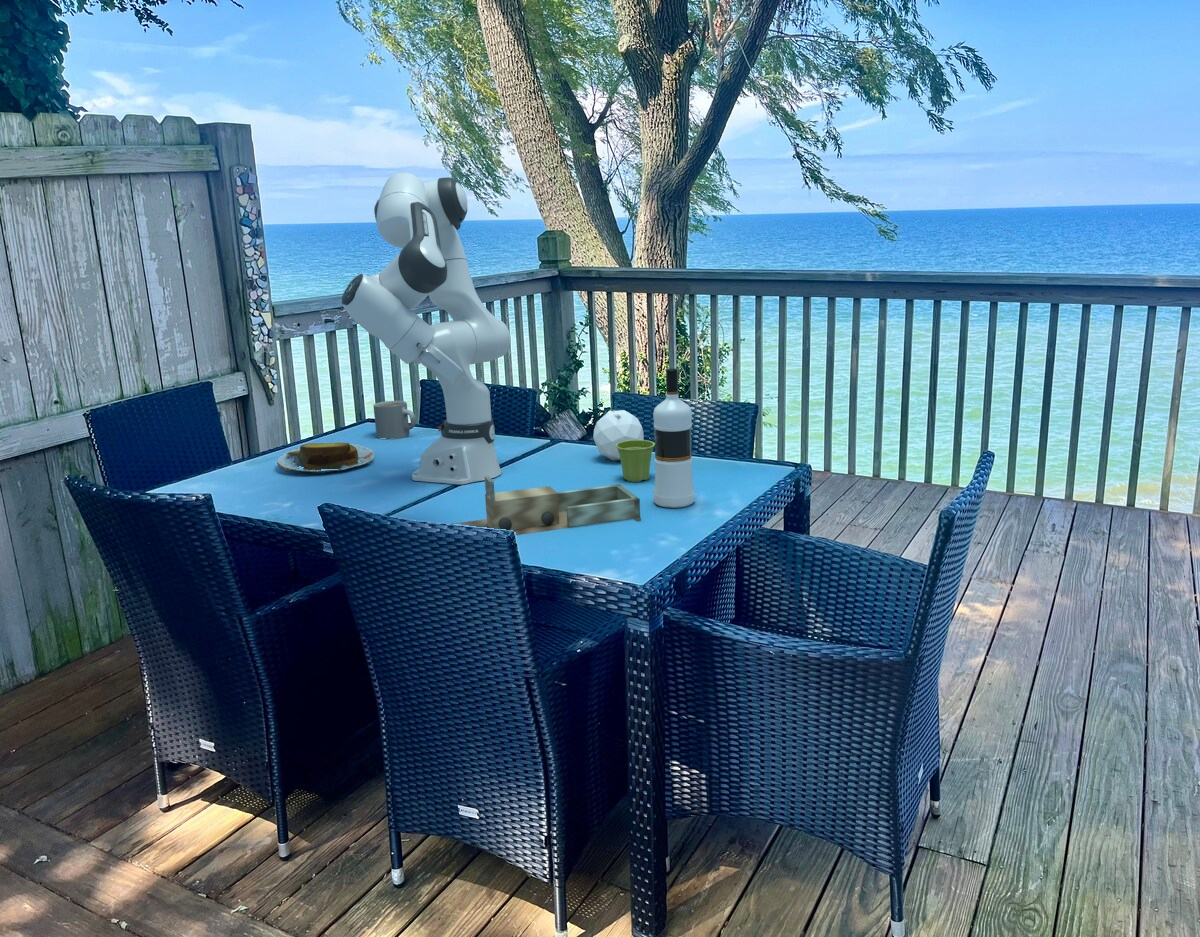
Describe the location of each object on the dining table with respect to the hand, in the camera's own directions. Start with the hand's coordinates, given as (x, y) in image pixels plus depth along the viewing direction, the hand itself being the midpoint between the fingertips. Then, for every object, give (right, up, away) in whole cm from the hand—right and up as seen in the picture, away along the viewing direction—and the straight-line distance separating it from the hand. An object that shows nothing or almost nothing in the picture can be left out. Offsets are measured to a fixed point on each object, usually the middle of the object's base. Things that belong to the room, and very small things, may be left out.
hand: (466, 386), depth 189 cm
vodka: (+44, -25, +16) cm, 53 cm away
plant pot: (+36, -20, +37) cm, 55 cm away
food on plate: (-47, -16, +64) cm, 81 cm away
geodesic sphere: (+32, -14, +57) cm, 67 cm away
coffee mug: (-35, -7, +94) cm, 101 cm away
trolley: (+11, -28, +4) cm, 31 cm away
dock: (+16, -28, +6) cm, 33 cm away
